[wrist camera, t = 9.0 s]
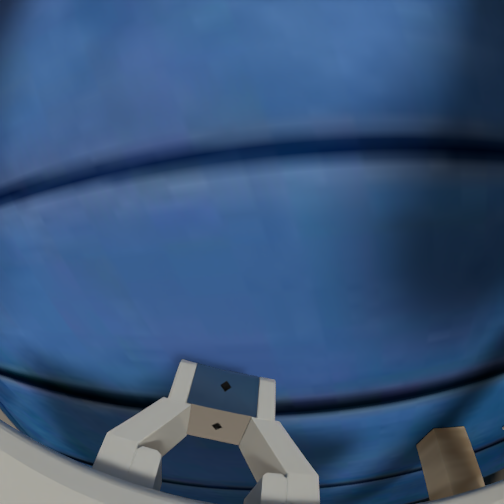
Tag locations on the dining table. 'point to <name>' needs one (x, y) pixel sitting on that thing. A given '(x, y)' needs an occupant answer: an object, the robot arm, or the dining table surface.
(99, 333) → the dining table surface
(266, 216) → the dining table surface
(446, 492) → the bridge
